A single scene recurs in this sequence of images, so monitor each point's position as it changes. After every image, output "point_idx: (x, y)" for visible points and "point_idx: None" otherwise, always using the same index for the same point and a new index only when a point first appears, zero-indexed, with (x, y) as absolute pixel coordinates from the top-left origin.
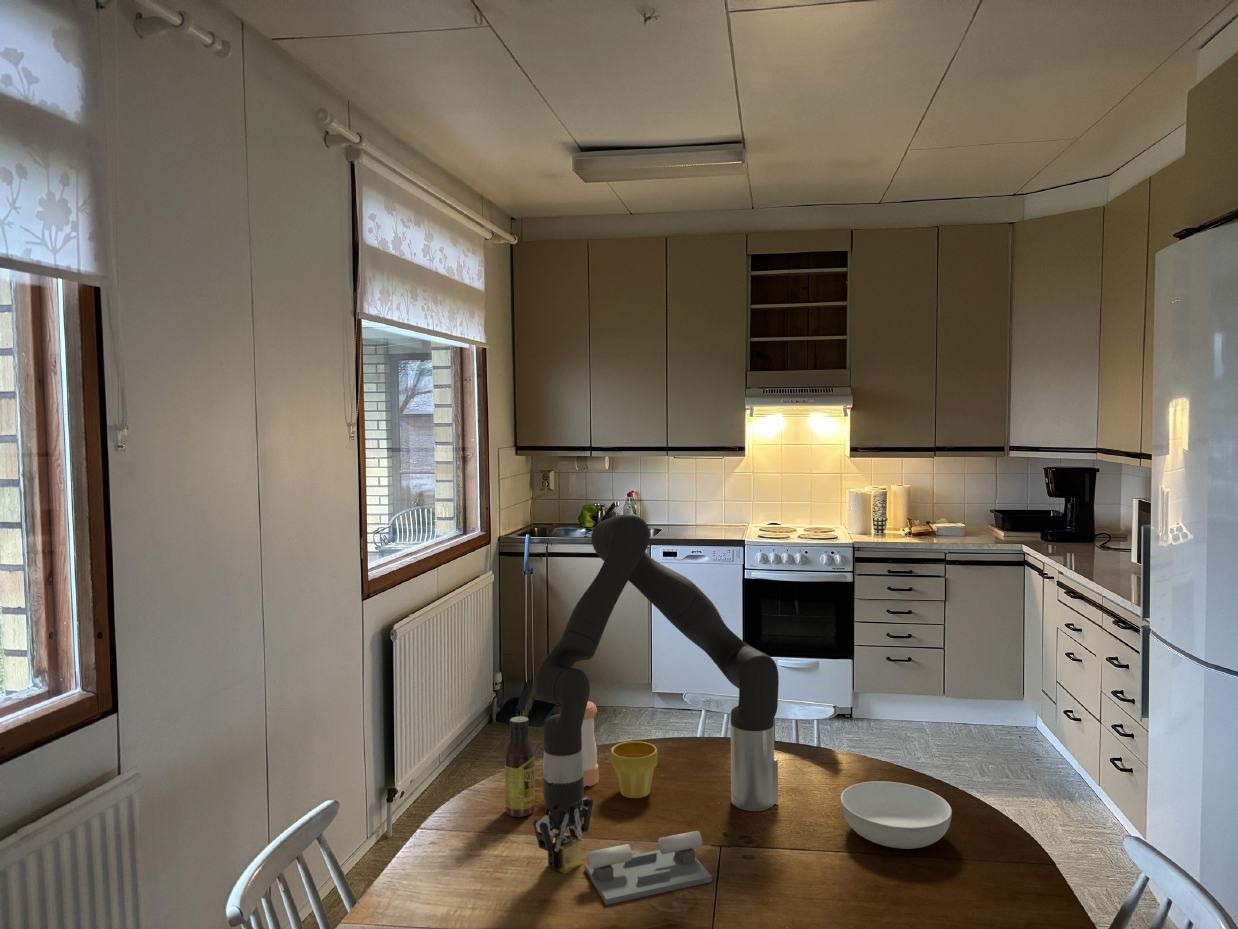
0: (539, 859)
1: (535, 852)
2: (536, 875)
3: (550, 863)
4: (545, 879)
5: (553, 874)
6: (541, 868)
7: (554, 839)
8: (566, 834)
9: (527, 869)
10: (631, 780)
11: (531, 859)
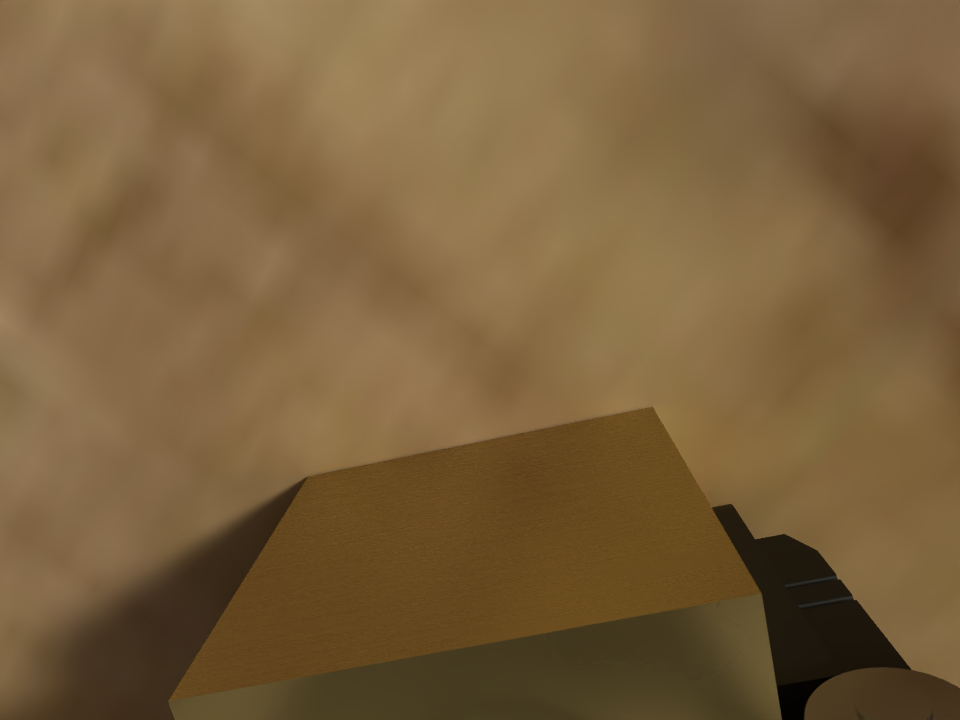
0: (295, 249)
1: (347, 10)
2: (68, 577)
3: None
4: (127, 716)
5: None
6: (202, 477)
7: (367, 712)
8: (749, 688)
9: (22, 378)
10: None
11: (191, 169)
